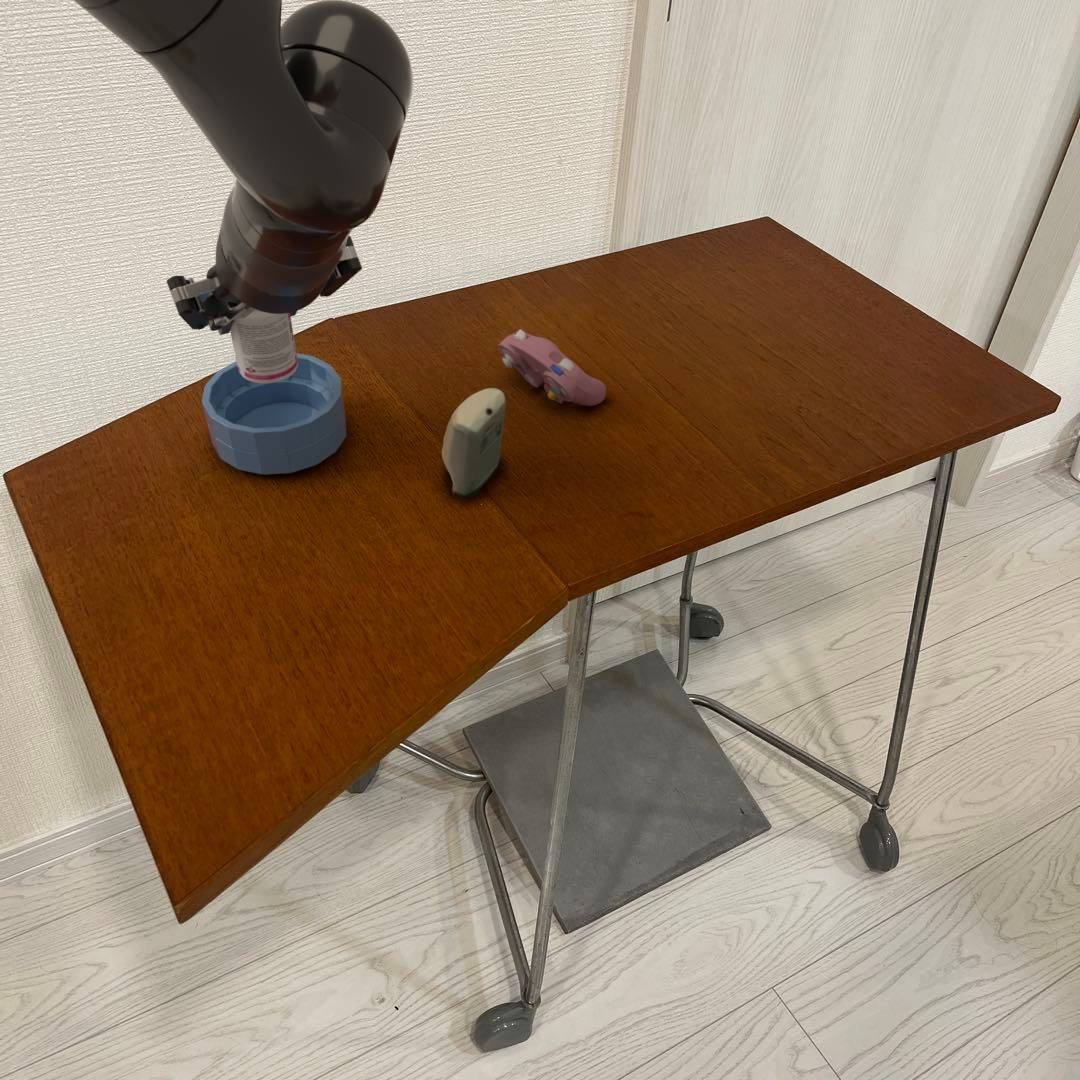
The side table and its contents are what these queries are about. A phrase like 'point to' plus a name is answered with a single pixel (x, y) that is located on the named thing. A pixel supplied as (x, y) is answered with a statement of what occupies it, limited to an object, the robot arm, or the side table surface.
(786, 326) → the side table surface
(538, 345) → the video game controller
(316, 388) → the bowl
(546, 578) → the side table surface
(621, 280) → the side table surface
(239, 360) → the pill bottle
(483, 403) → the cream rounded block
